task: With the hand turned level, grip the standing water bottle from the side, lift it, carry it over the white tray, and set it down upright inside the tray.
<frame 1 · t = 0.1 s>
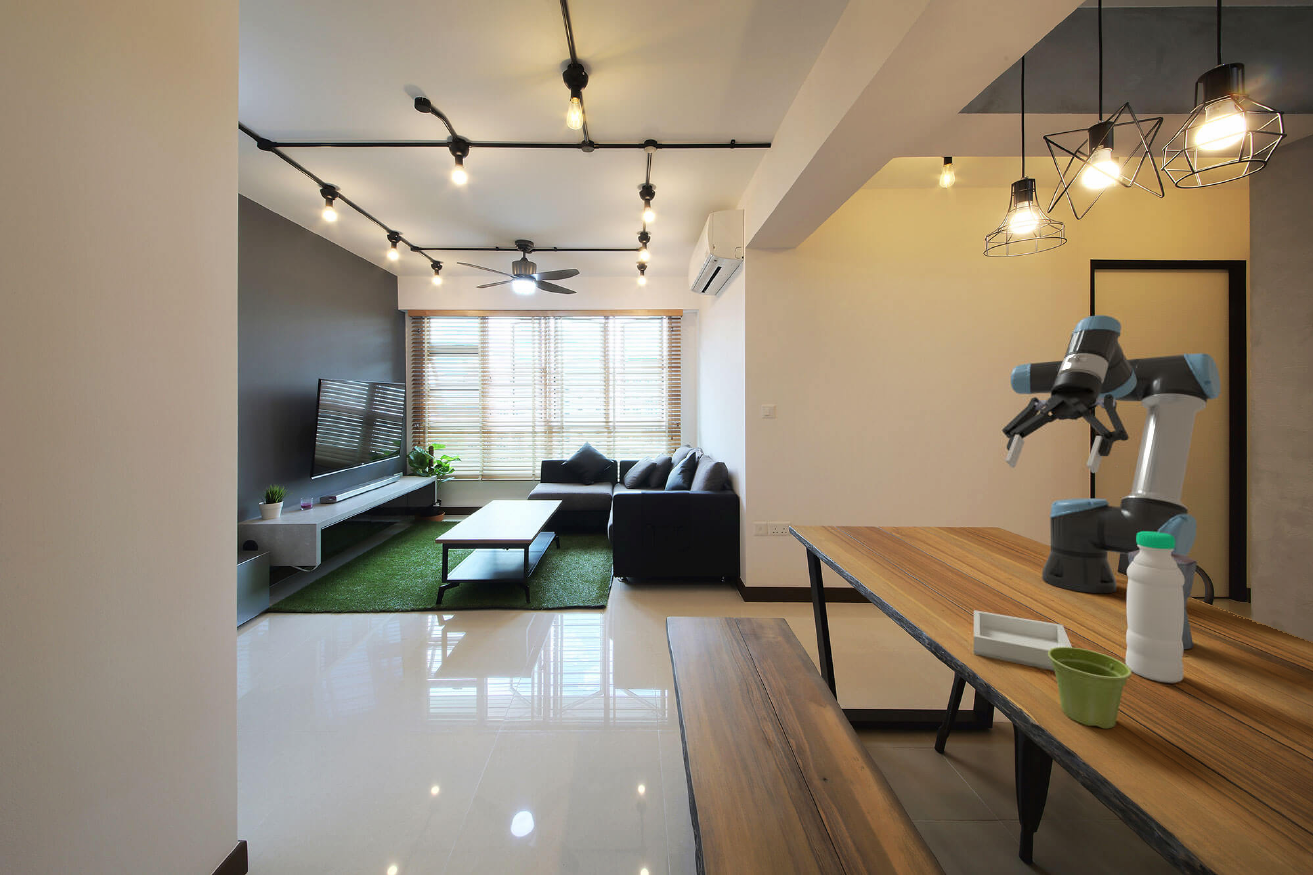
hand: (1048, 466, 96), 36 cm above the table, tool tilted 35°, fingers open, 13 cm apart
white tray: (1019, 647, 96), on the table
water bottle: (1153, 675, 85), on the table
moka pot: (1159, 640, 98), on the table
plant pot: (1087, 718, 73), on the table
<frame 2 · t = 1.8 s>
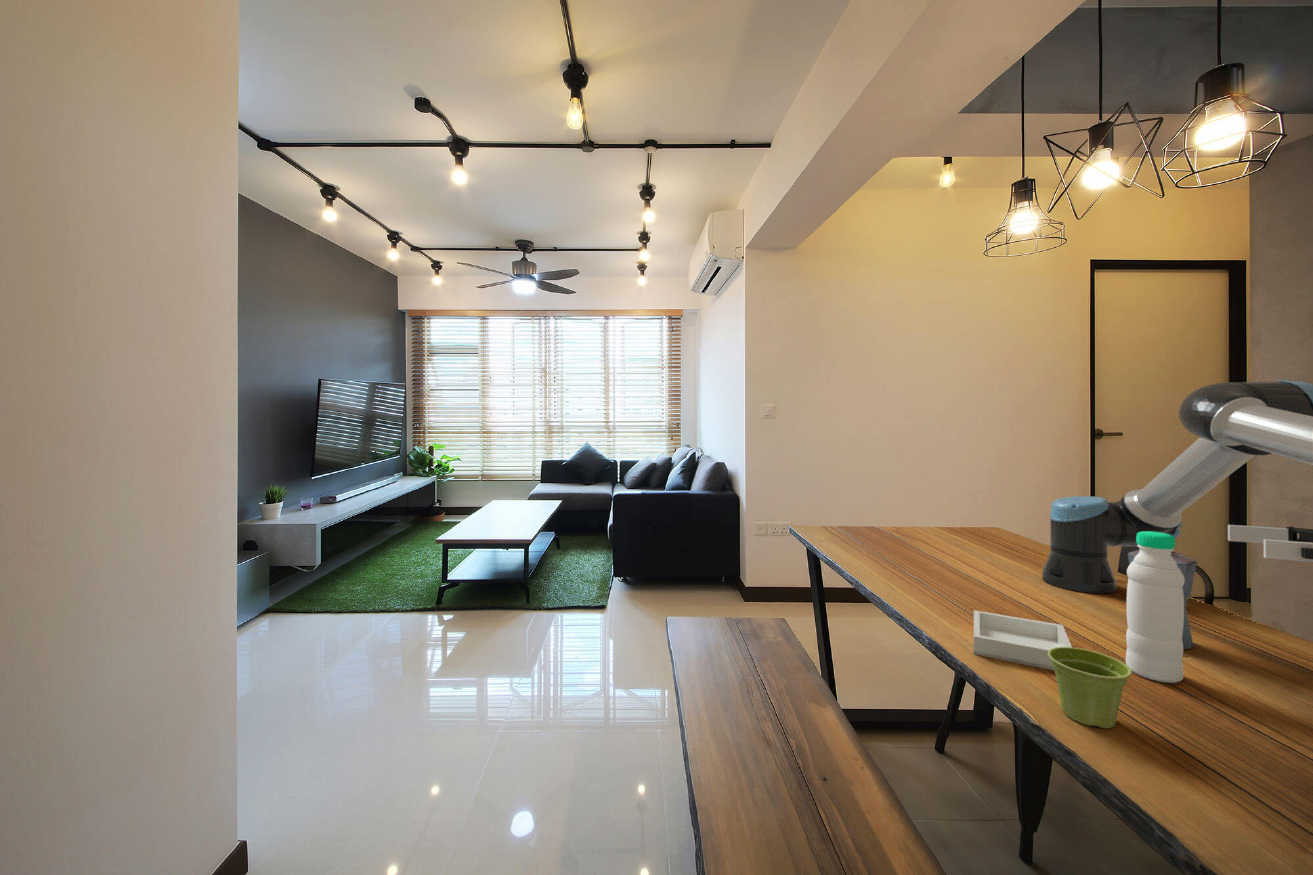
hand: (1244, 540, 79), 25 cm above the table, tool horizontal, fingers open, 13 cm apart
nothing on the table moved.
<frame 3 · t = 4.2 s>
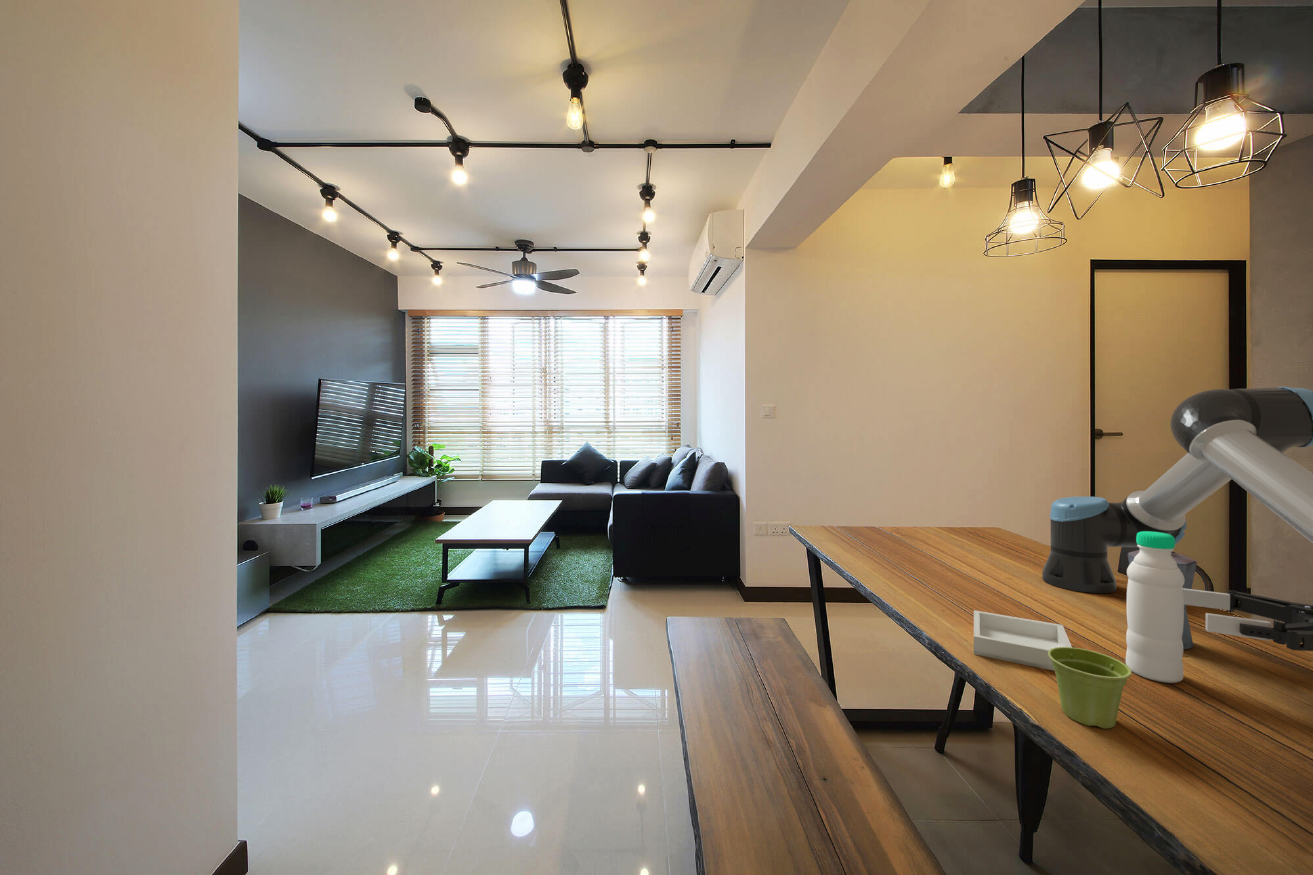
hand: (1189, 607, 82), 13 cm above the table, tool horizontal, fingers open, 13 cm apart
nothing on the table moved.
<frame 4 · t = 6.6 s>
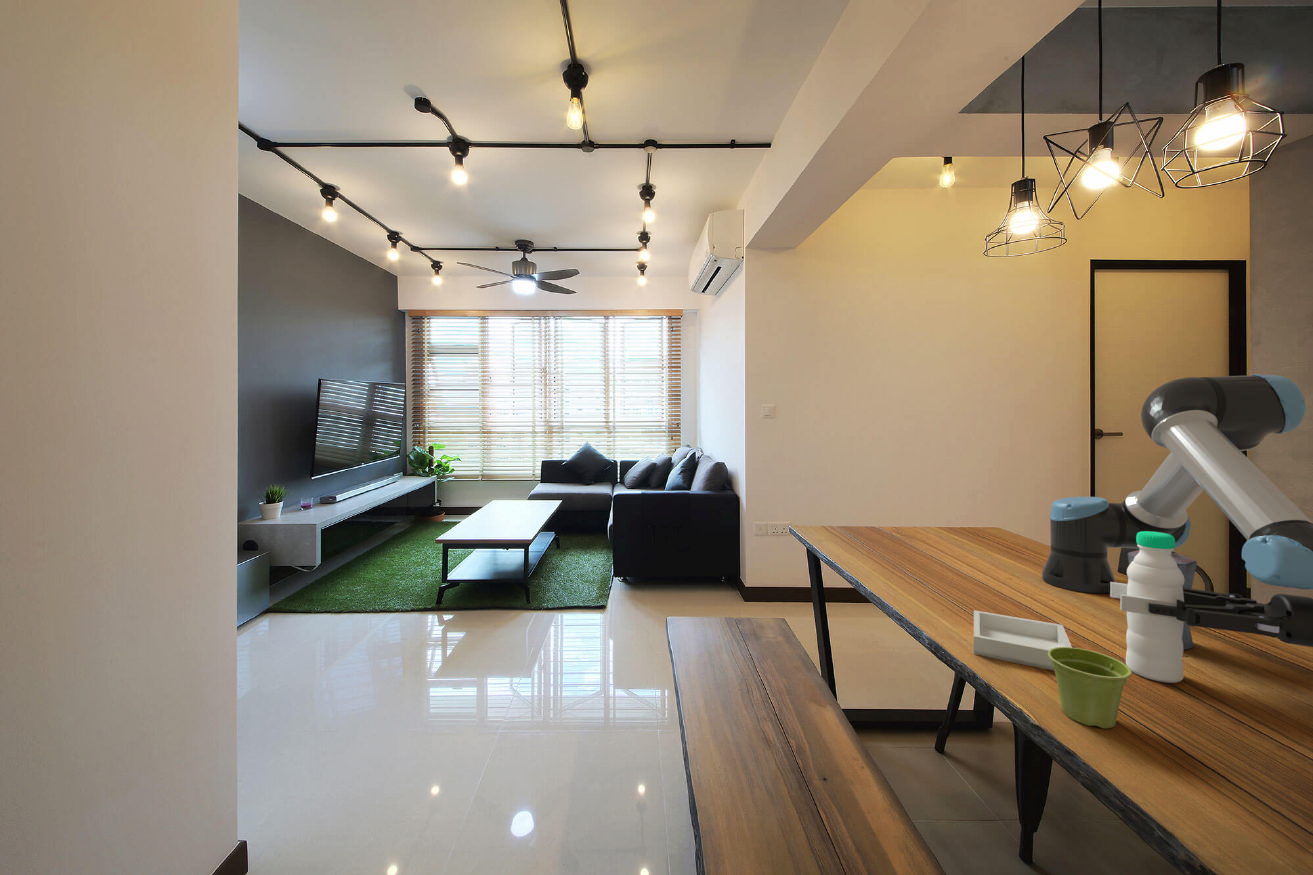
hand: (1115, 595, 87), 13 cm above the table, tool horizontal, fingers closed on water bottle, 7 cm apart
water bottle: (1153, 675, 85), on the table, touching gripper
everything else where it was.
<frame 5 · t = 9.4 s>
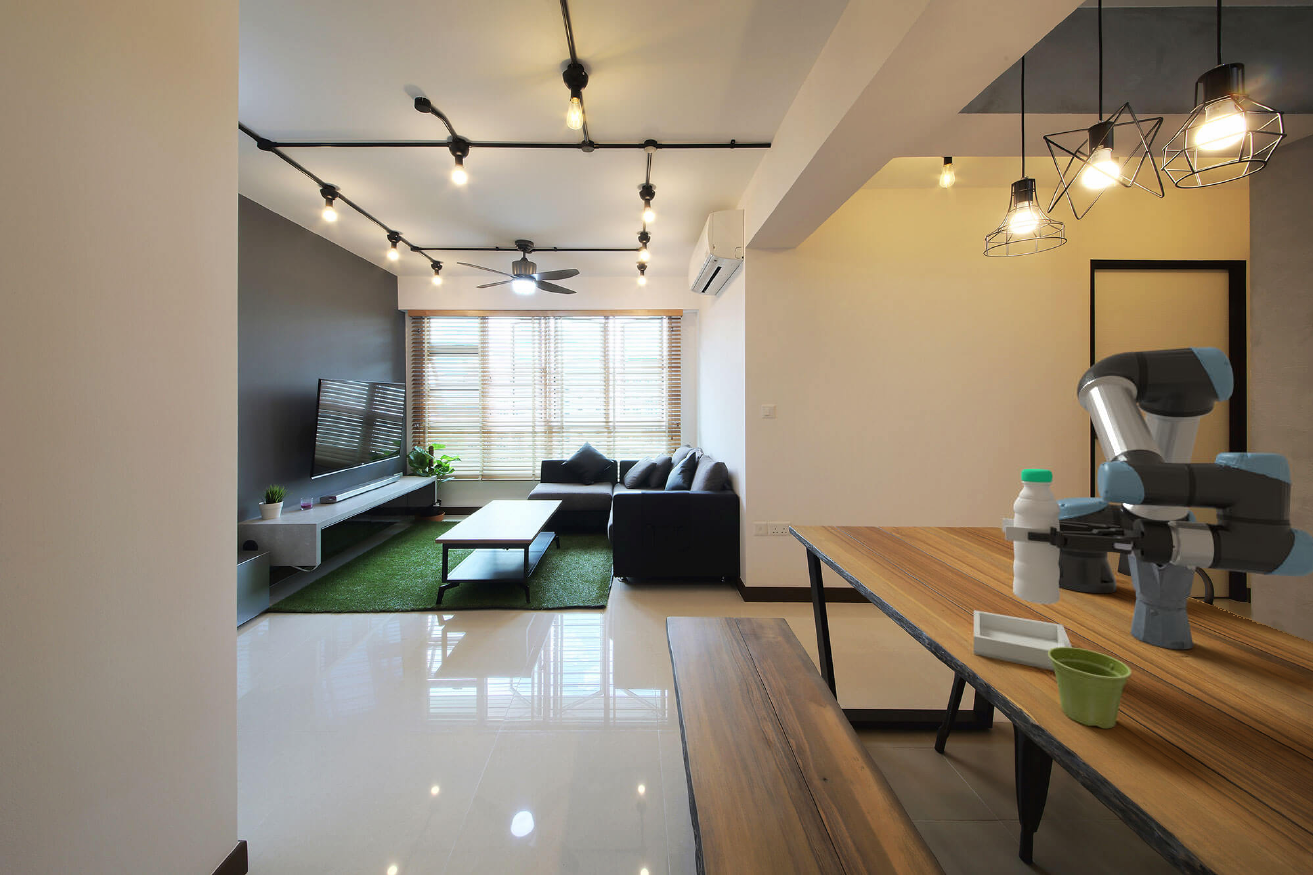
hand: (1004, 528, 96), 24 cm above the table, tool horizontal, fingers closed on water bottle, 7 cm apart
water bottle: (1035, 599, 93), point 10 cm above the table, touching gripper
everything else where it was.
when the fingers open (15 cm above the table, at t = 12.1 s): water bottle drops 1 cm, resting on white tray.
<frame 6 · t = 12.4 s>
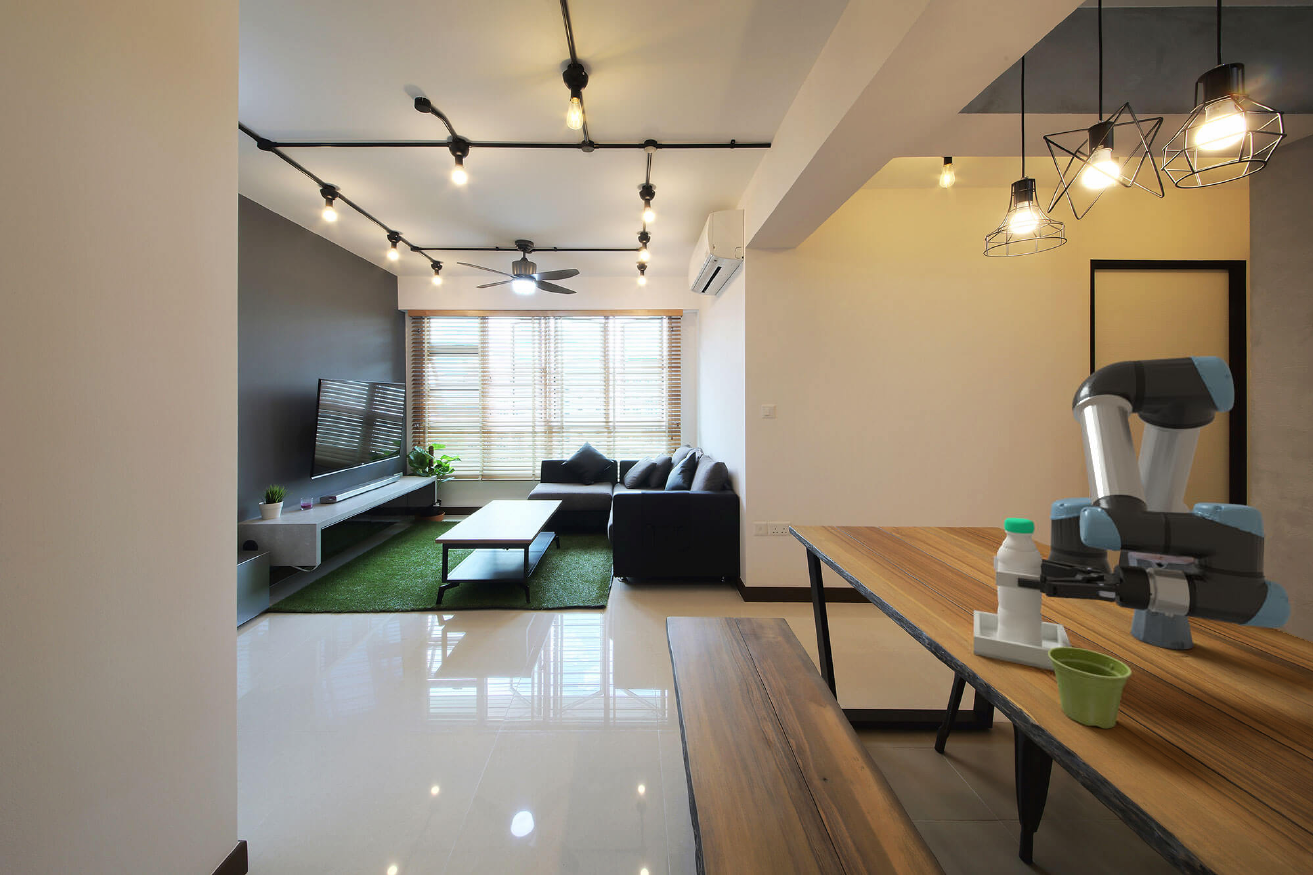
hand: (994, 569, 97), 15 cm above the table, tool horizontal, fingers open, 11 cm apart
water bottle: (1019, 645, 96), point 1 cm above the table, touching white tray
everything else where it was.
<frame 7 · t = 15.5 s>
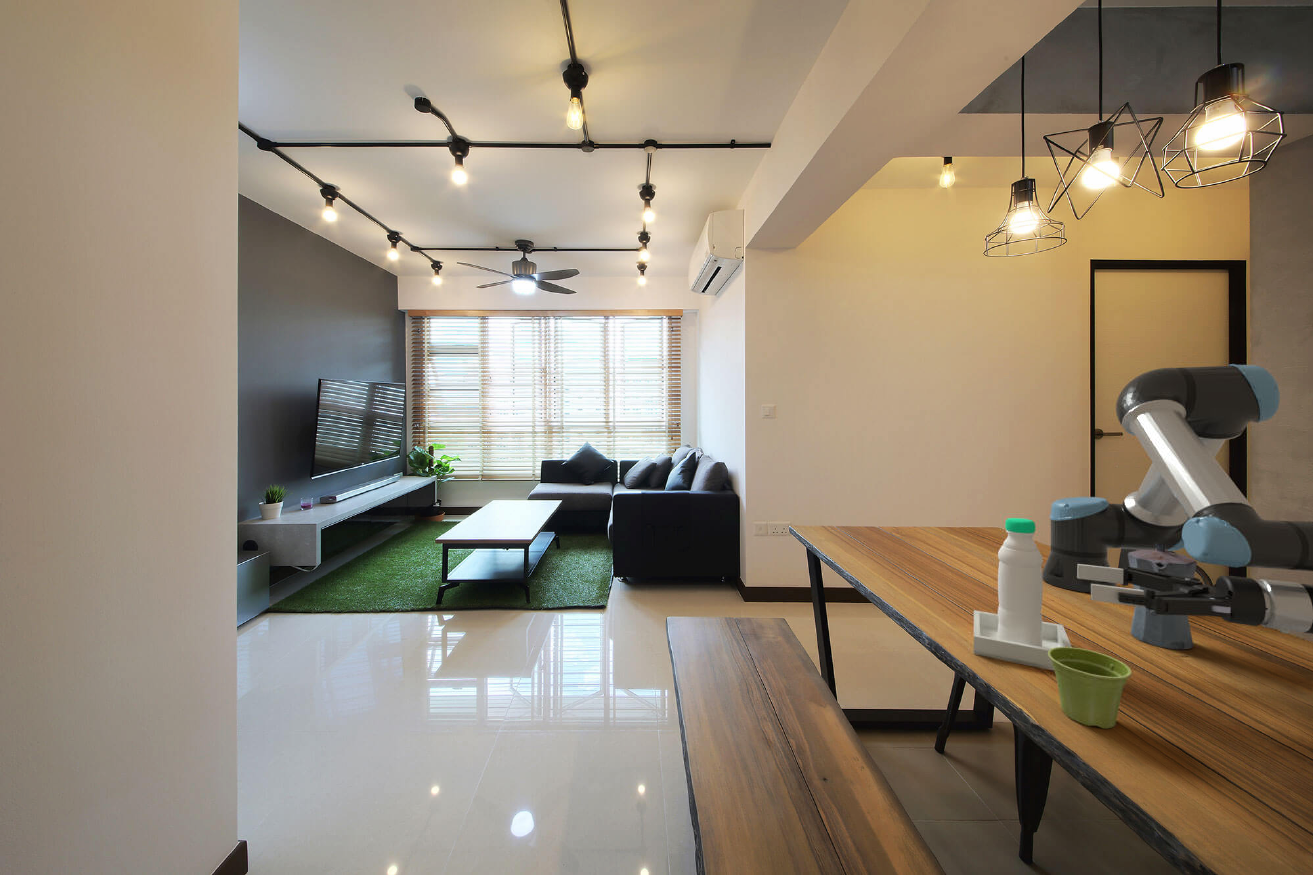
hand: (1083, 580, 90), 15 cm above the table, tool horizontal, fingers open, 13 cm apart
nothing on the table moved.
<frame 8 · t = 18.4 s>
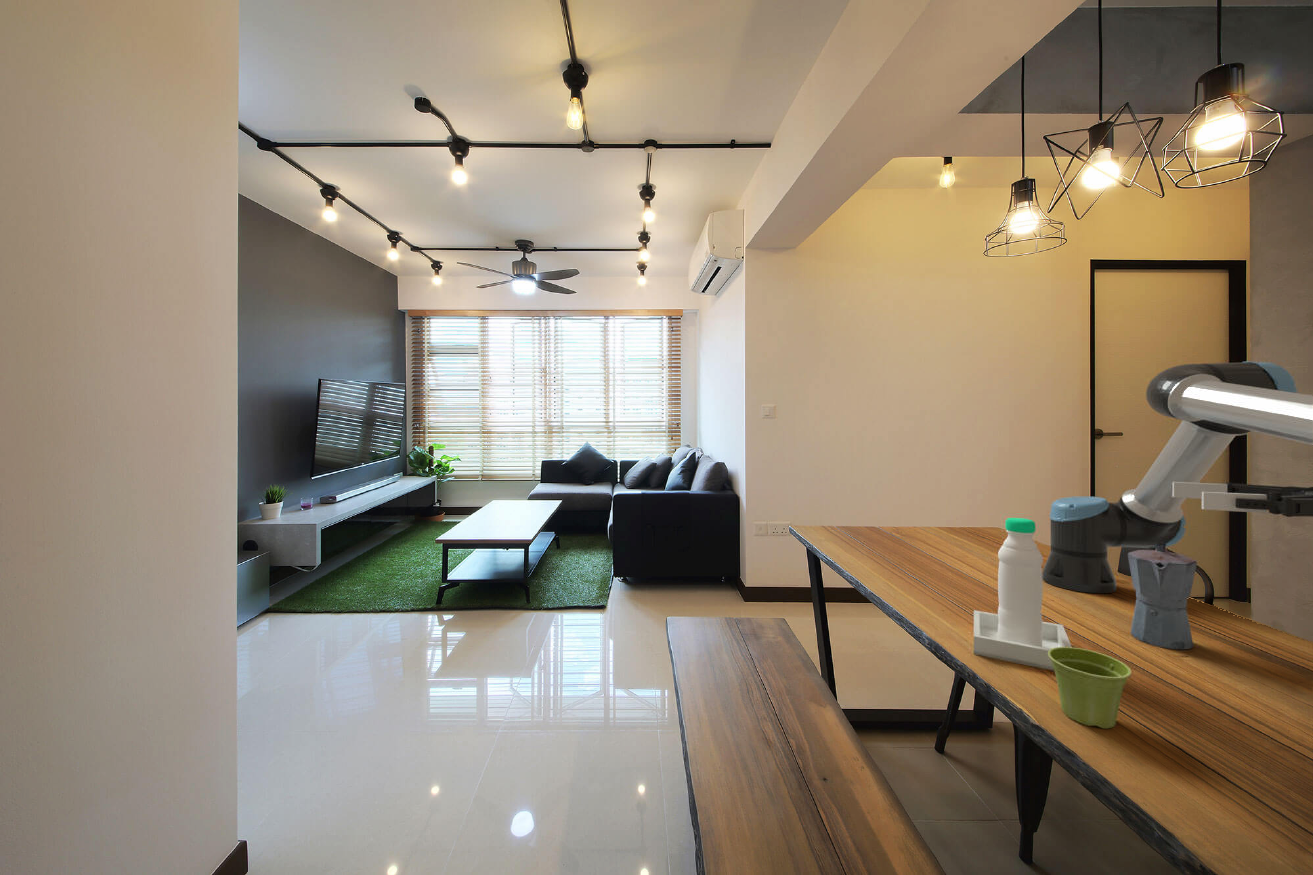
hand: (1186, 494, 82), 32 cm above the table, tool horizontal, fingers open, 13 cm apart
nothing on the table moved.
at the end: water bottle inside the target area on the white tray (0.0 cm from its centre), point 0.4 cm above the white tray's base; water bottle tilted 0°; the gripper is holding nothing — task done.
